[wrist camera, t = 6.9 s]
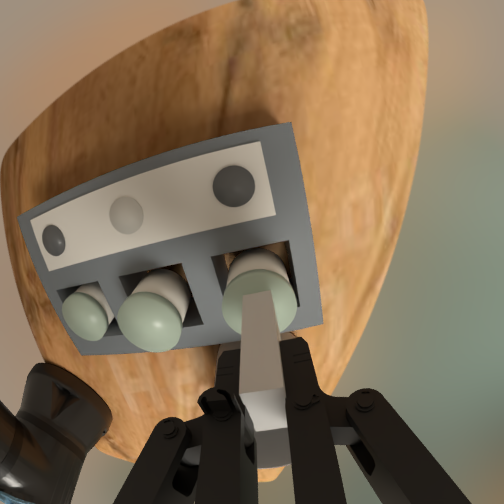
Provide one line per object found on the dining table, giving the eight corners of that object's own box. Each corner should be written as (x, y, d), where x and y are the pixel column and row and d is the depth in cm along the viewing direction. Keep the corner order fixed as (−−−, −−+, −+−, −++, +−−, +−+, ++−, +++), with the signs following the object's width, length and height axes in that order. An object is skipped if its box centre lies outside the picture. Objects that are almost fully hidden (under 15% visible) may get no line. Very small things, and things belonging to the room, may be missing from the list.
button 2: (97, 315, 23) (77, 342, 19) (78, 276, 21) (54, 300, 17) (131, 310, 22) (113, 339, 18) (113, 268, 21) (89, 293, 17)
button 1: (235, 305, 20) (232, 343, 16) (220, 253, 18) (212, 284, 14) (291, 294, 20) (301, 330, 16) (281, 240, 18) (291, 268, 14)
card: (51, 269, 17) (47, 272, 17) (32, 219, 16) (28, 221, 15) (275, 213, 16) (276, 215, 16) (259, 141, 15) (260, 141, 14)
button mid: (151, 319, 20) (134, 354, 16) (131, 273, 19) (107, 303, 15) (199, 311, 20) (189, 349, 16) (181, 262, 19) (165, 293, 15)
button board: (99, 328, 25) (81, 355, 21) (46, 203, 20) (16, 216, 16) (311, 293, 23) (323, 323, 19) (281, 127, 18) (291, 121, 14)
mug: (241, 309, 24) (238, 410, 14) (318, 341, 26) (346, 432, 15) (193, 384, 28) (178, 467, 18) (259, 405, 29) (262, 484, 19)
